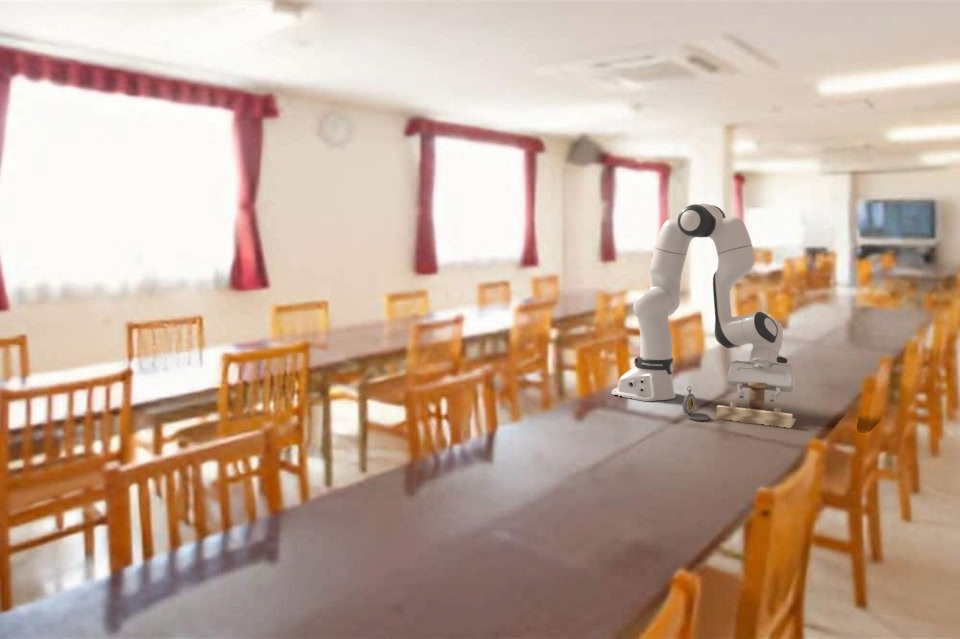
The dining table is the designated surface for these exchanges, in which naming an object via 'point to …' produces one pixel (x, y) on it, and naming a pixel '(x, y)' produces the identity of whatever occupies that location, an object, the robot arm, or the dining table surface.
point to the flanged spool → (757, 395)
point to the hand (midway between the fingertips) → (756, 398)
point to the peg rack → (755, 415)
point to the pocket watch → (692, 408)
